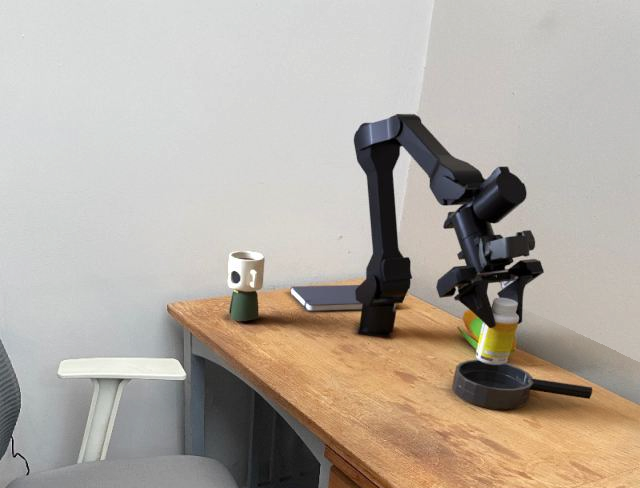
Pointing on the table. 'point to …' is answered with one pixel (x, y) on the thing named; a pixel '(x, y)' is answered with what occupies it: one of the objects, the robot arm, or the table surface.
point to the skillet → (492, 385)
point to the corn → (475, 329)
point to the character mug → (245, 284)
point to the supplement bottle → (498, 333)
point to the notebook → (327, 297)
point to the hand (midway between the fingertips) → (506, 325)
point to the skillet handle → (562, 388)
